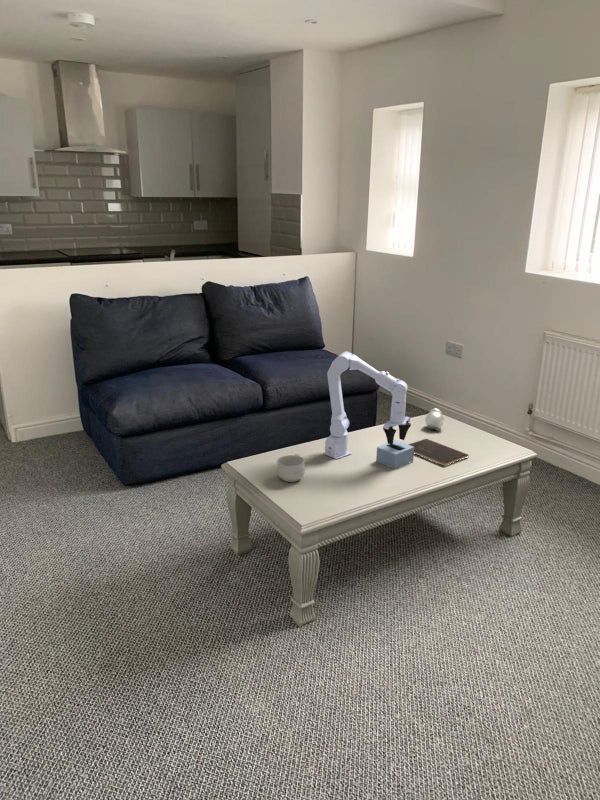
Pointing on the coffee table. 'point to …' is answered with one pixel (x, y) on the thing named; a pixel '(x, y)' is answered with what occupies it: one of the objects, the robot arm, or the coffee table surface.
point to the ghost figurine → (434, 419)
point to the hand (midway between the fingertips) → (396, 441)
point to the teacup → (291, 467)
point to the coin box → (395, 454)
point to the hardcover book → (437, 452)
